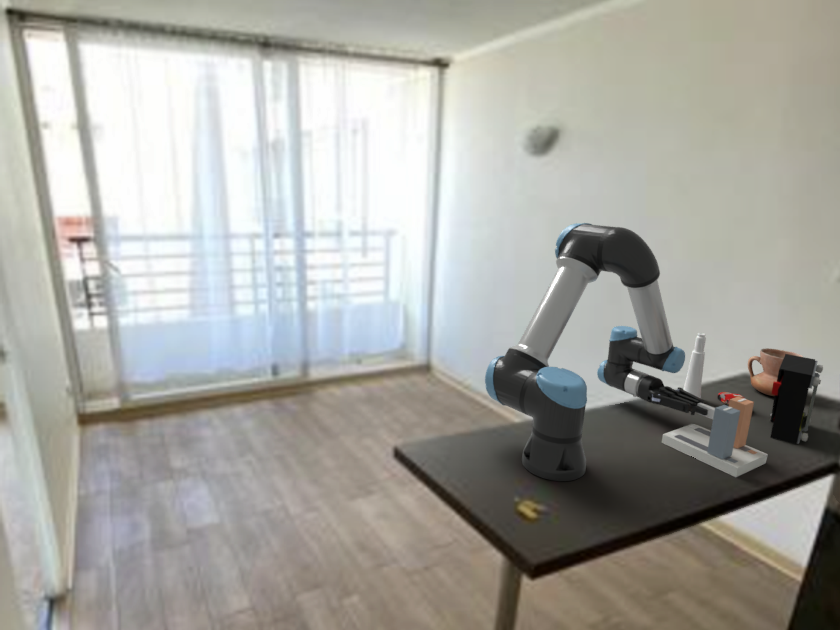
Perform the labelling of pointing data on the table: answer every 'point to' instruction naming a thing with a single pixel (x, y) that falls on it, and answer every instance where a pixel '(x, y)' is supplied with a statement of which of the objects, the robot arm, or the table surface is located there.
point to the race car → (727, 397)
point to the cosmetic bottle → (696, 367)
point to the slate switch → (723, 431)
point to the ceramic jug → (767, 369)
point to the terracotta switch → (742, 419)
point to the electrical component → (793, 398)
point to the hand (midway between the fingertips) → (721, 416)
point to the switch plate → (696, 445)
